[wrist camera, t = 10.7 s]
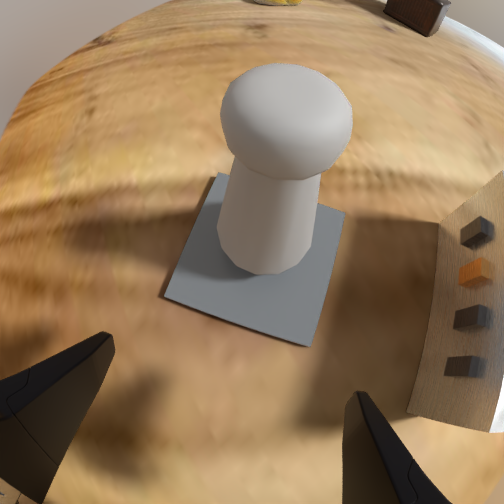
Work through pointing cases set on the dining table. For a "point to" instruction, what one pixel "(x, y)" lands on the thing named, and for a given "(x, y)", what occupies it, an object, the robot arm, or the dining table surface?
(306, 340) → the slate pad
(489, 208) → the breaker panel
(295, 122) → the salt shaker
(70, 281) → the dining table surface
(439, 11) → the manual coffee grinder
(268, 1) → the bread roll
